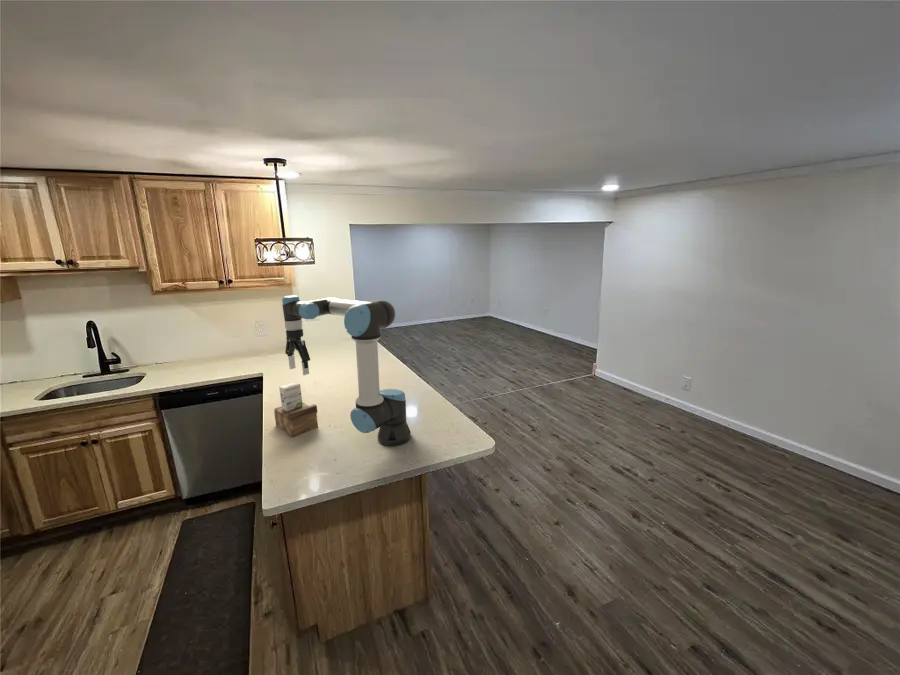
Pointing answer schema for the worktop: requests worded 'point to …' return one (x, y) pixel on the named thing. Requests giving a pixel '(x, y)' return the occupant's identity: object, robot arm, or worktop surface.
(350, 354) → the worktop surface
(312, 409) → the lid
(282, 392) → the ink box
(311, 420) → the crate
